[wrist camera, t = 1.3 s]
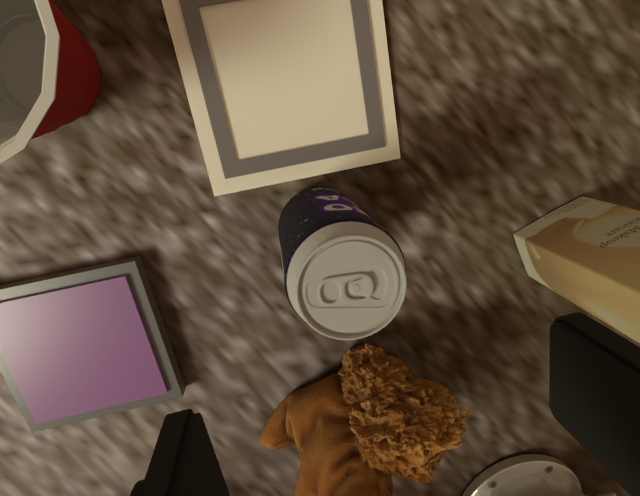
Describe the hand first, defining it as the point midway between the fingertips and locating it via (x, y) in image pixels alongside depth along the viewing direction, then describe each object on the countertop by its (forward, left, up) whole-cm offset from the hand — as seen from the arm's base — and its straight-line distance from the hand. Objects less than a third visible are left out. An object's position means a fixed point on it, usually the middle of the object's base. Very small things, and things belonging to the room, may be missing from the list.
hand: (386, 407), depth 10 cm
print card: (-1, -10, -19) cm, 22 cm away
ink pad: (+17, +5, -19) cm, 26 cm away
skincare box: (-19, +5, -19) cm, 27 cm away
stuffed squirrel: (0, +15, -19) cm, 24 cm away
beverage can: (-1, 0, -19) cm, 19 cm away
